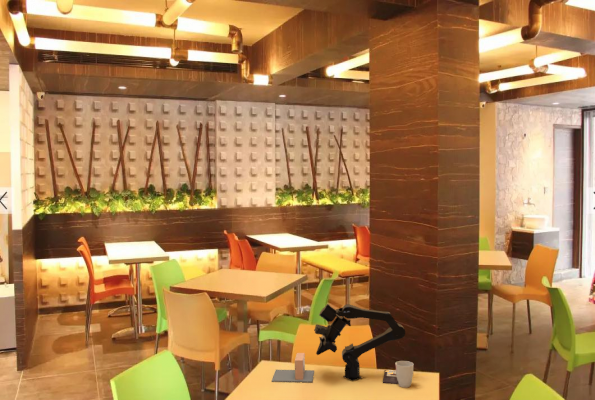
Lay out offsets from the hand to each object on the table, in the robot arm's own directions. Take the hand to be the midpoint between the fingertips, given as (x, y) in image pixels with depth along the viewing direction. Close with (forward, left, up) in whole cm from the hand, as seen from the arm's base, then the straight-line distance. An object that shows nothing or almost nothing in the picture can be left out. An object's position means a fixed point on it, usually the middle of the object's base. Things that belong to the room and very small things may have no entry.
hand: (316, 354), depth 258 cm
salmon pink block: (+6, -6, -6) cm, 10 cm away
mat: (+8, -8, -11) cm, 16 cm away
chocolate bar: (-29, +21, -12) cm, 38 cm away
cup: (-25, +32, -11) cm, 42 cm away
